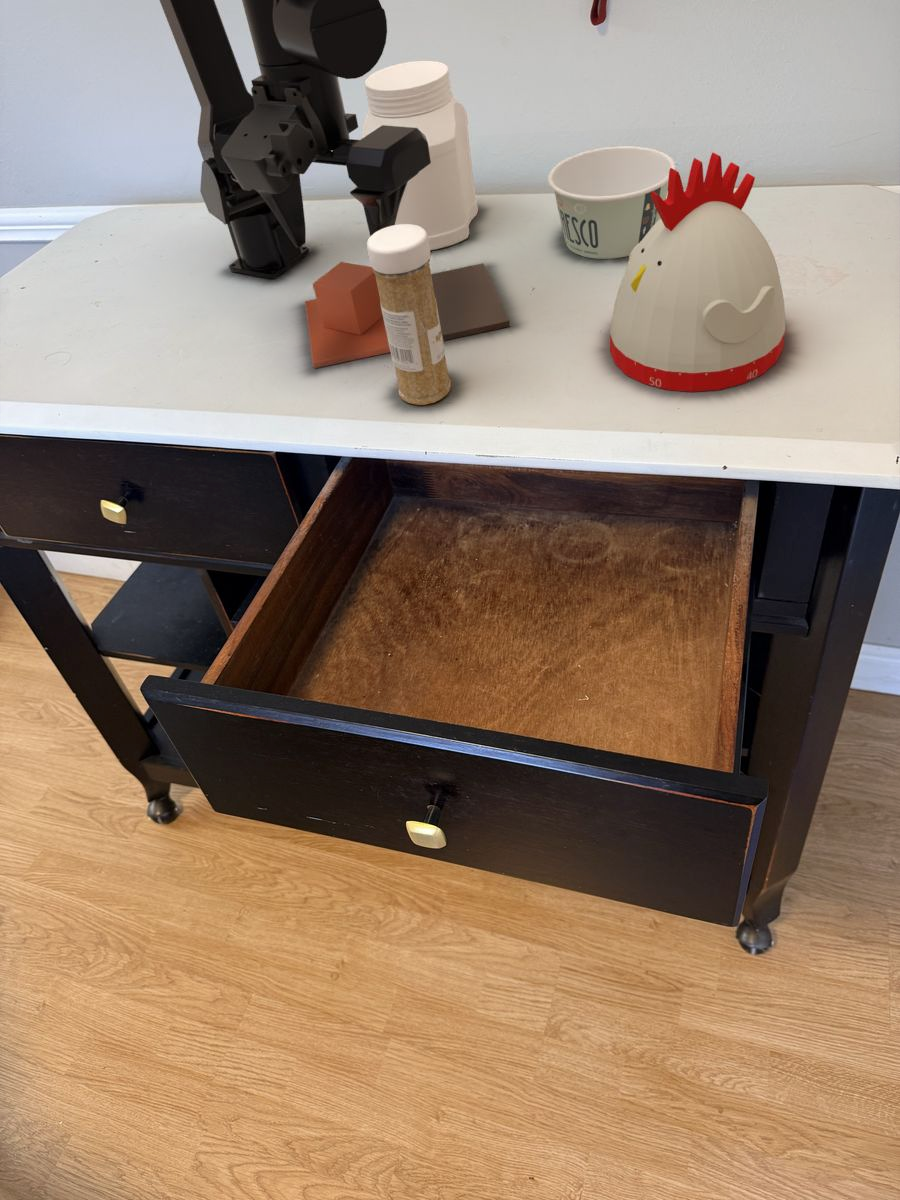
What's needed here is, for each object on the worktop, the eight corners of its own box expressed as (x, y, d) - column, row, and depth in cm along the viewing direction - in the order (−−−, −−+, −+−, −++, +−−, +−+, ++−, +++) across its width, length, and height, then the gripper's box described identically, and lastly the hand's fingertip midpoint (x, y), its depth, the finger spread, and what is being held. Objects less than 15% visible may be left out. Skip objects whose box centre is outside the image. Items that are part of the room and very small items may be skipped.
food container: (696, 223, 90) (700, 155, 85) (628, 276, 85) (628, 206, 80) (596, 203, 96) (595, 138, 92) (527, 250, 91) (522, 184, 86)
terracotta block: (323, 327, 85) (312, 283, 81) (351, 304, 87) (340, 261, 84) (360, 335, 83) (350, 290, 79) (388, 312, 85) (379, 267, 82)
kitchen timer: (582, 332, 79) (576, 153, 68) (721, 286, 81) (736, 106, 70) (663, 411, 69) (671, 217, 59) (818, 357, 71) (853, 161, 61)
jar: (399, 206, 103) (373, 60, 92) (482, 201, 101) (465, 51, 90) (374, 254, 95) (343, 100, 85) (463, 250, 93) (442, 91, 82)
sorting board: (314, 368, 81) (312, 362, 80) (306, 306, 89) (304, 300, 89) (510, 326, 81) (509, 320, 81) (484, 268, 90) (483, 262, 89)
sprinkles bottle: (462, 391, 75) (438, 233, 65) (416, 414, 74) (385, 255, 64) (432, 370, 78) (406, 215, 68) (388, 391, 77) (354, 237, 67)
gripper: (135, 86, 69) (203, 279, 80) (326, 98, 60) (372, 312, 71) (232, 38, 75) (282, 224, 86) (417, 43, 66) (447, 249, 77)
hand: (340, 251), depth 80 cm, fingers open, 9 cm apart
